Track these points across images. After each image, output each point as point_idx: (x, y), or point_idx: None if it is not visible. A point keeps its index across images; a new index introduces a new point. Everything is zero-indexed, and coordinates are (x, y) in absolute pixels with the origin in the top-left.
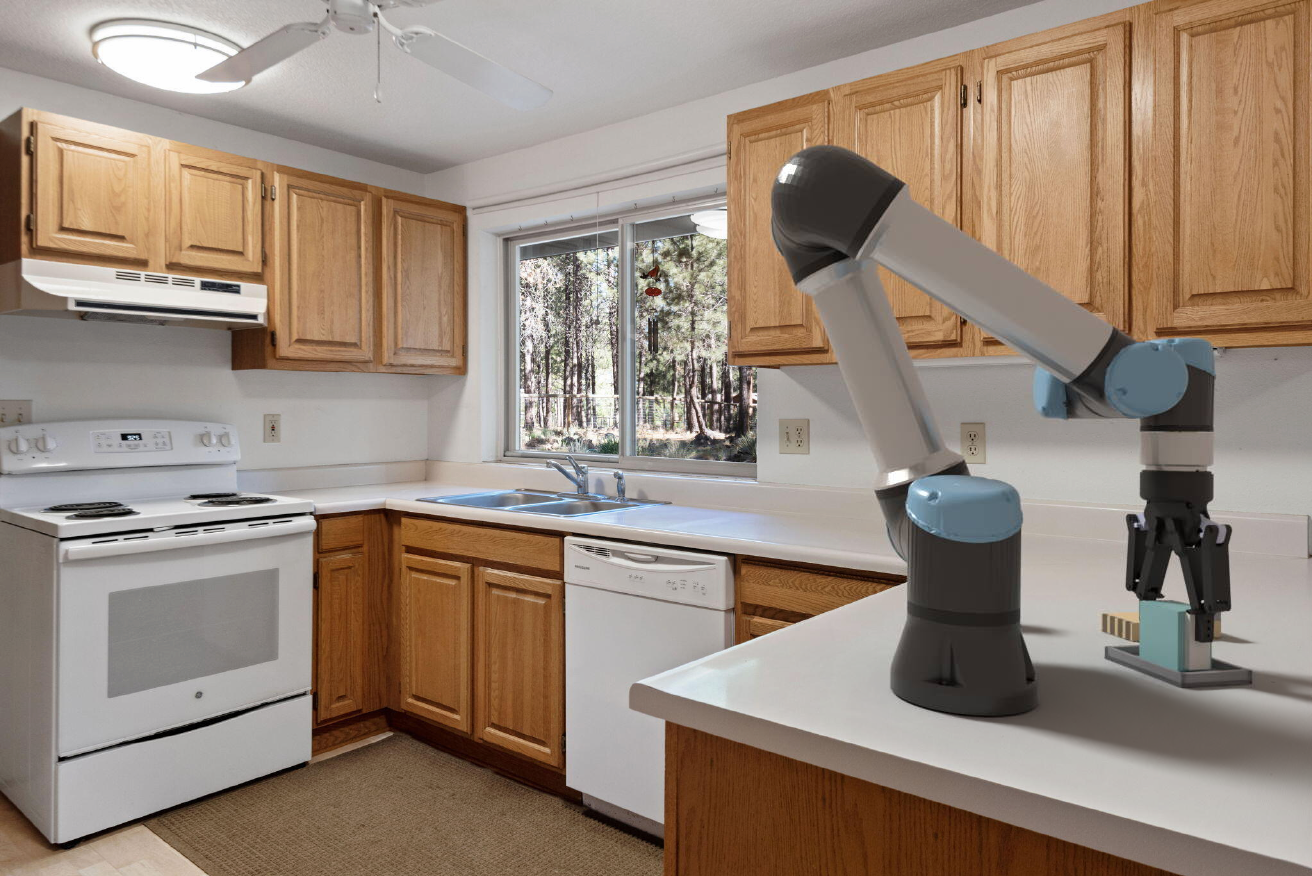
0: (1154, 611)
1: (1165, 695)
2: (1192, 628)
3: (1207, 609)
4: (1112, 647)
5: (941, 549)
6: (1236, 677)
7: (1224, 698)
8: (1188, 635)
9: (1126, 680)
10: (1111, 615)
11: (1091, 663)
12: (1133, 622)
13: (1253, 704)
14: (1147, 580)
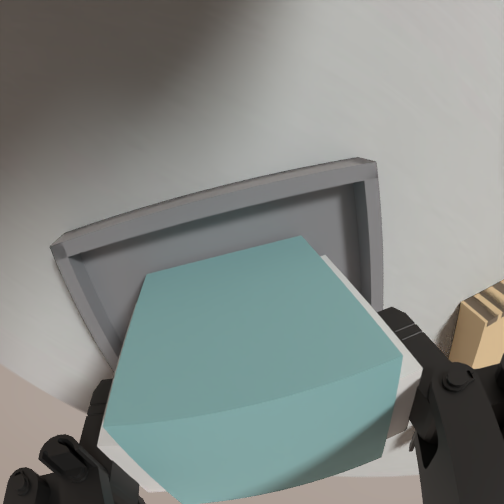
0: (274, 370)
1: (5, 164)
2: None
3: (28, 476)
4: (362, 180)
5: None
6: None
7: (19, 289)
8: None
9: (114, 107)
10: None
11: (302, 84)
12: (486, 327)
13: (5, 320)
14: (453, 477)
